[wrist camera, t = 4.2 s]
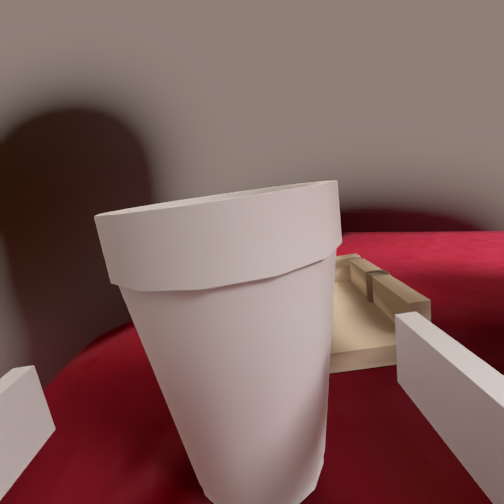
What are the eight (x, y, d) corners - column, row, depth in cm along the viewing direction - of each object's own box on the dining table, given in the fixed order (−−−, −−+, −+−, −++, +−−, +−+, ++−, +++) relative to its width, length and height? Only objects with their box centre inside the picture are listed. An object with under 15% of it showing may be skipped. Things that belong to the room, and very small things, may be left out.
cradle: (360, 286, 35) (358, 253, 34) (441, 358, 20) (441, 304, 20) (229, 304, 35) (223, 272, 34) (217, 388, 21) (207, 336, 20)
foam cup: (194, 395, 20) (154, 203, 17) (332, 384, 20) (314, 180, 17) (132, 574, 11) (25, 227, 8) (389, 566, 10) (369, 180, 7)
